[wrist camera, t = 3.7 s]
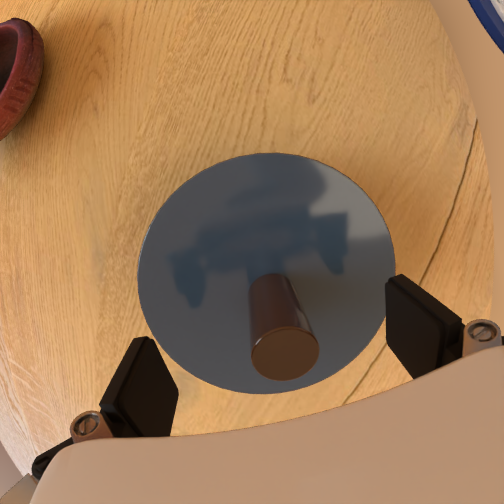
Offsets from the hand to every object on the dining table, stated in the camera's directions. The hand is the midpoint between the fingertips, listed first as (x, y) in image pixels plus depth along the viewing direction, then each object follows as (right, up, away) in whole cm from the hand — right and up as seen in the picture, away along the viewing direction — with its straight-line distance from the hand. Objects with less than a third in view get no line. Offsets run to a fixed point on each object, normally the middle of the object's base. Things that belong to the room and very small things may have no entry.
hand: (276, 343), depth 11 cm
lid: (0, +1, +4) cm, 5 cm away
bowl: (-24, +18, +8) cm, 31 cm away
